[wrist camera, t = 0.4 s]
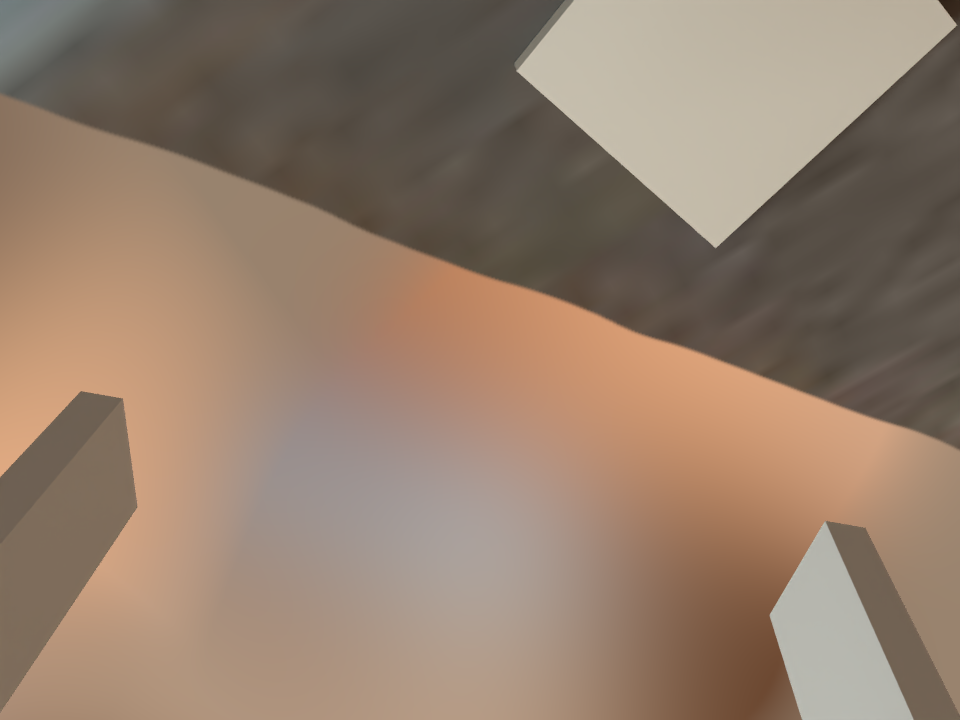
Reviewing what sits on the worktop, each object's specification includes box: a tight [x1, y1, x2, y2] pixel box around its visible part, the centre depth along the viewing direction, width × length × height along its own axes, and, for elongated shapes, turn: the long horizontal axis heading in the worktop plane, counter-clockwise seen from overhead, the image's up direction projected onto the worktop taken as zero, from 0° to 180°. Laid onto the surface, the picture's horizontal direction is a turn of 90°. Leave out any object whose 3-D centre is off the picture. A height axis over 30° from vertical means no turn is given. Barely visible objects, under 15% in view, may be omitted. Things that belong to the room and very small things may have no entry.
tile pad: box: [514, 0, 957, 248], centre depth 31 cm, size 13×13×2 cm
